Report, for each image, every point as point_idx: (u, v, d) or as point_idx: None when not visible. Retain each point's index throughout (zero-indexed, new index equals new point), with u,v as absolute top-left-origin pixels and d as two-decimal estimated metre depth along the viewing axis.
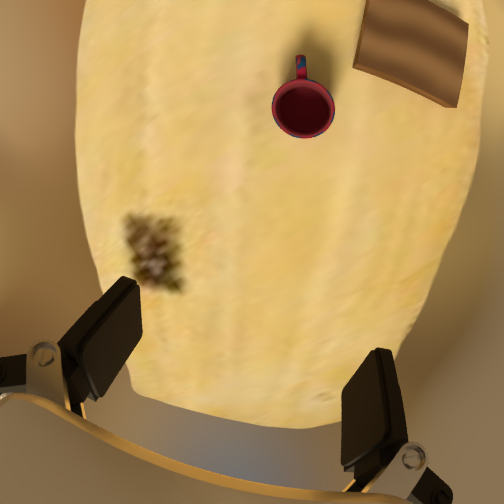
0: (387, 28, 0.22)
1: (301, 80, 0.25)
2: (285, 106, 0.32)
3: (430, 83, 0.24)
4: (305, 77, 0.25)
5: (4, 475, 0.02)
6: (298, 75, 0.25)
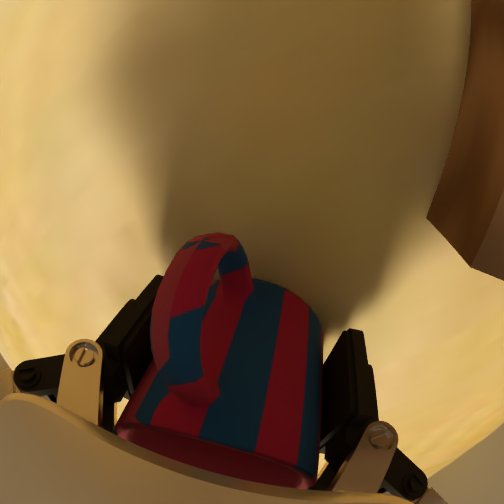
0: None
1: (185, 435, 0.05)
2: None
3: None
4: (209, 403, 0.06)
5: (4, 475, 0.02)
6: (177, 394, 0.06)
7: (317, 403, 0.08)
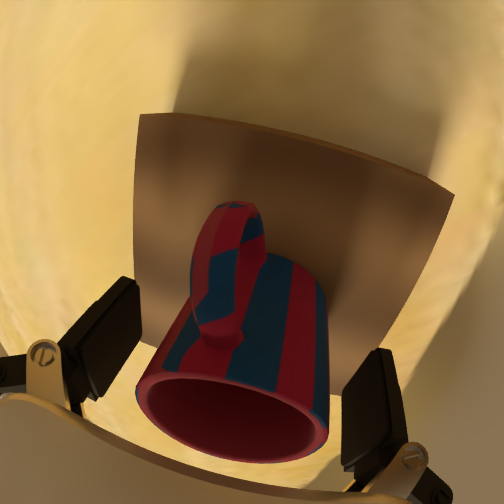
0: (180, 275, 0.14)
1: (212, 378, 0.07)
2: None
3: None
4: (235, 345, 0.07)
5: (4, 475, 0.02)
6: (206, 338, 0.07)
7: (326, 360, 0.09)
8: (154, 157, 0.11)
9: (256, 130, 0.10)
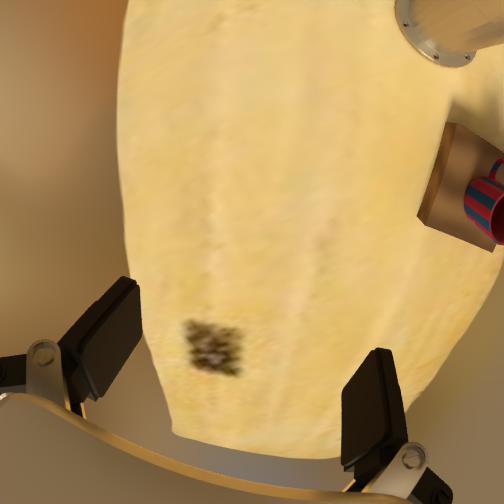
0: (457, 186, 0.27)
1: None
2: None
3: (478, 236, 0.29)
4: None
5: (4, 475, 0.02)
6: None
7: None
8: (459, 140, 0.25)
9: (485, 141, 0.24)
